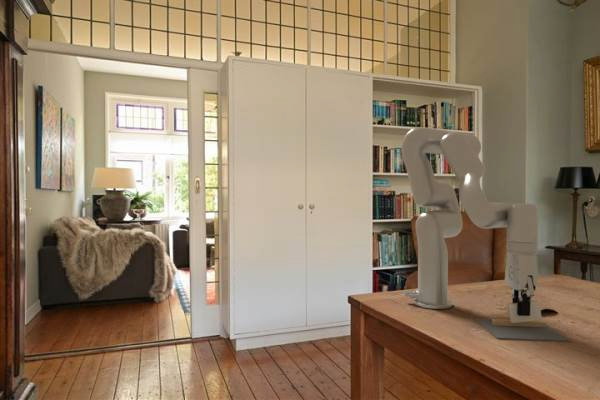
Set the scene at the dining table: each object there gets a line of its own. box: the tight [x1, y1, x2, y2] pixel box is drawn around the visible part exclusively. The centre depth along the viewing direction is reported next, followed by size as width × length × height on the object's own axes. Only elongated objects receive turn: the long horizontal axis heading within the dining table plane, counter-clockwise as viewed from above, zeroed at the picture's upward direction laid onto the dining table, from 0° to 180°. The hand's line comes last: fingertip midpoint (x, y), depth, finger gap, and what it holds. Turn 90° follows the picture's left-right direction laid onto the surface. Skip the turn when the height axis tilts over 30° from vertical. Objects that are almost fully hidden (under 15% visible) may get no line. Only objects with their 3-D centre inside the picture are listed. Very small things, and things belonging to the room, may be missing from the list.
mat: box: [475, 318, 572, 343], centre depth 112 cm, size 18×16×2 cm
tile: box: [506, 300, 543, 323], centre depth 113 cm, size 8×2×5 cm, turn 84°
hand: (521, 313), depth 114 cm, fingers closed
